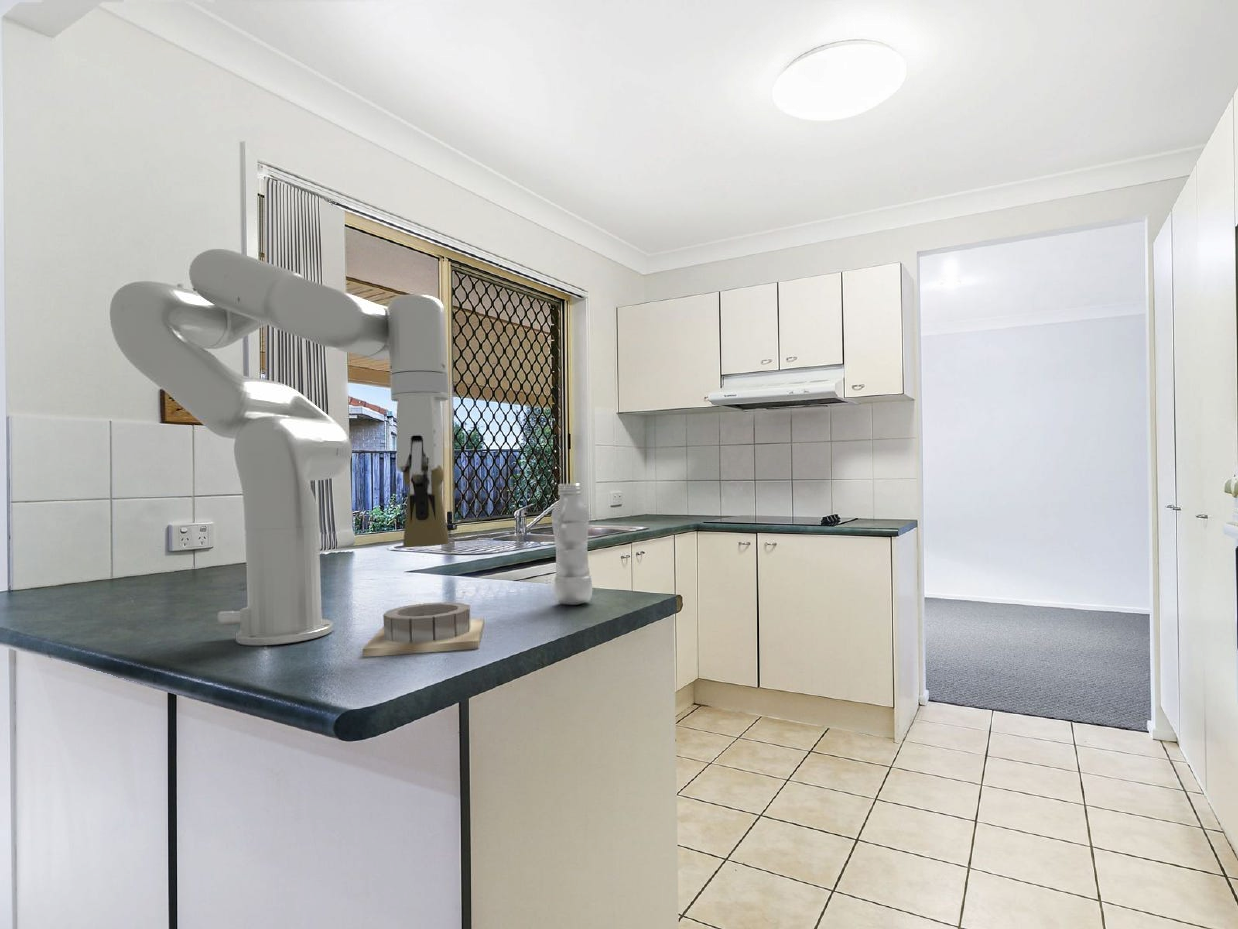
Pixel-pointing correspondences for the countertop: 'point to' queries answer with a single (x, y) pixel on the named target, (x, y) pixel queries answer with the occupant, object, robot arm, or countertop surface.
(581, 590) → the plastic bottle
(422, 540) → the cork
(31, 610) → the countertop surface
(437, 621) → the ring collar
